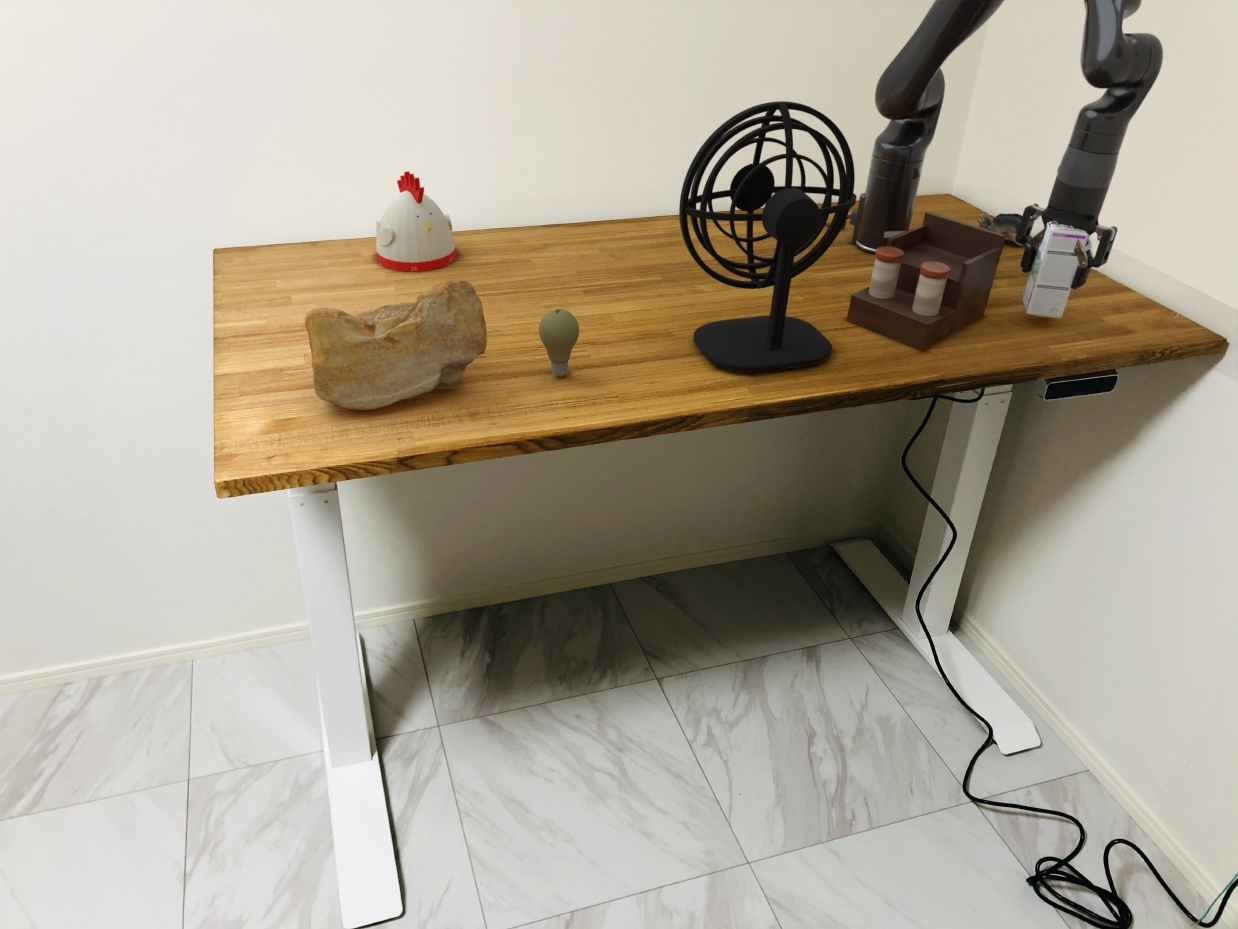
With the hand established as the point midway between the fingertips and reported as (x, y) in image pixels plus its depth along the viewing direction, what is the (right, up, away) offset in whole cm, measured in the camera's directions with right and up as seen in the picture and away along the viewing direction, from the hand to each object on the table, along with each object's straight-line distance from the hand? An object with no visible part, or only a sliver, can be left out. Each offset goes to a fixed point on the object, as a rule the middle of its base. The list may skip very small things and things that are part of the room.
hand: (1050, 279), depth 149 cm
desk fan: (-47, -12, -6) cm, 49 cm away
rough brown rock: (-100, -18, -19) cm, 103 cm away
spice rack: (-20, -6, +4) cm, 21 cm away
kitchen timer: (-105, +8, +19) cm, 107 cm away
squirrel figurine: (+5, +13, +33) cm, 36 cm away
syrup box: (0, -4, +3) cm, 5 cm away
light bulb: (-78, -17, -16) cm, 81 cm away
